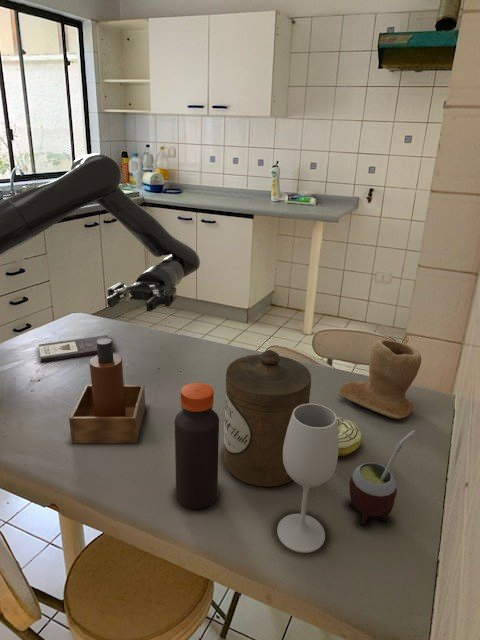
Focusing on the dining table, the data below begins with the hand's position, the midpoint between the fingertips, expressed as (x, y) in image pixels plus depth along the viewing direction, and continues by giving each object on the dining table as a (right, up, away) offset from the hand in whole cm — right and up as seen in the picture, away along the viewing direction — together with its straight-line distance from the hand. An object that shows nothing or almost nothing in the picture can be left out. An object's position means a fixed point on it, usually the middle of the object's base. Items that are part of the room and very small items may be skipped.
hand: (128, 305), depth 96 cm
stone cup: (+54, -22, +9) cm, 59 cm away
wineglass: (+32, -36, -25) cm, 54 cm away
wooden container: (+27, -29, -10) cm, 41 cm away
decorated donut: (+41, -27, -4) cm, 50 cm away
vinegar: (+16, -32, -19) cm, 41 cm away
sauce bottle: (-3, -24, -2) cm, 24 cm away
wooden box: (-3, -24, -2) cm, 25 cm away
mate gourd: (+44, -34, -21) cm, 60 cm away
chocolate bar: (-21, -11, +29) cm, 37 cm away
